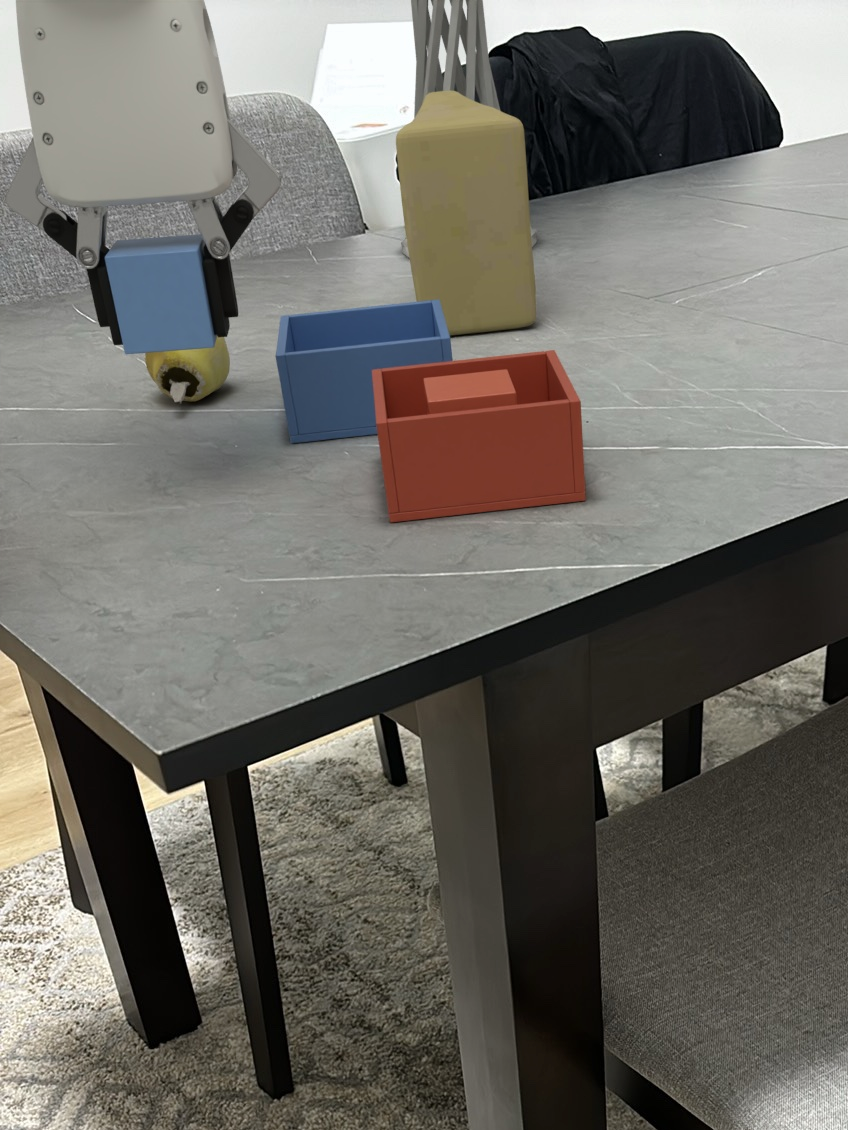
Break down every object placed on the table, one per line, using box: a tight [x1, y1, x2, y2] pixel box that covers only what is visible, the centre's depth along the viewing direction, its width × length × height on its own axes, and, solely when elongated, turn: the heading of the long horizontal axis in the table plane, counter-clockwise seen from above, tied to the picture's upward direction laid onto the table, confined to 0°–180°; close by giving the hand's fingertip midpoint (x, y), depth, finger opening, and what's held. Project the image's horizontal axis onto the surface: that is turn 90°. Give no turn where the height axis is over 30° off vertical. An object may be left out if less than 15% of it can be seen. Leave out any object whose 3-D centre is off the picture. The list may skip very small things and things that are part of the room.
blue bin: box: [275, 299, 454, 444], centre depth 95 cm, size 11×11×6 cm
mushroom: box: [144, 336, 231, 405], centre depth 100 cm, size 6×6×10 cm
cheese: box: [395, 90, 537, 337], centre depth 115 cm, size 22×10×15 cm, turn 7°
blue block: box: [105, 233, 217, 355], centre depth 78 cm, size 5×5×5 cm
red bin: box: [372, 349, 587, 523], centre depth 81 cm, size 11×11×6 cm
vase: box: [400, 0, 538, 258], centre depth 129 cm, size 14×13×35 cm
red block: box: [423, 369, 517, 415], centre depth 81 cm, size 5×5×5 cm
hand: (172, 332), depth 80 cm, fingers closed on blue block, 5 cm apart
